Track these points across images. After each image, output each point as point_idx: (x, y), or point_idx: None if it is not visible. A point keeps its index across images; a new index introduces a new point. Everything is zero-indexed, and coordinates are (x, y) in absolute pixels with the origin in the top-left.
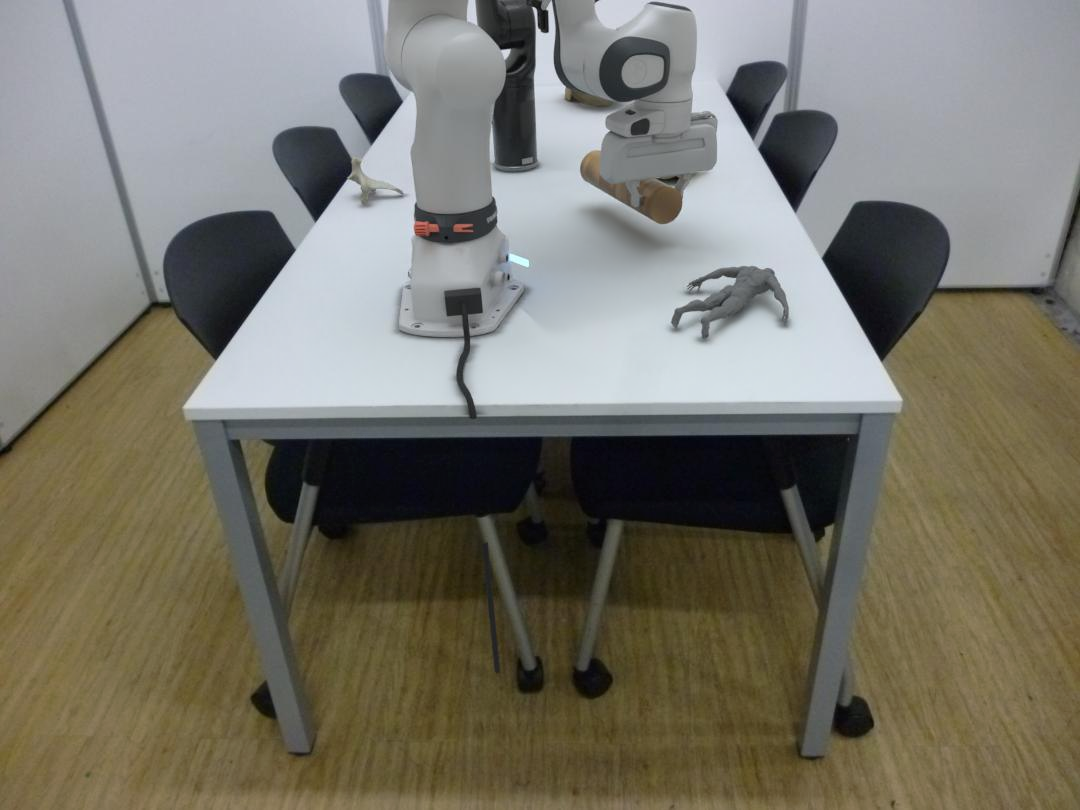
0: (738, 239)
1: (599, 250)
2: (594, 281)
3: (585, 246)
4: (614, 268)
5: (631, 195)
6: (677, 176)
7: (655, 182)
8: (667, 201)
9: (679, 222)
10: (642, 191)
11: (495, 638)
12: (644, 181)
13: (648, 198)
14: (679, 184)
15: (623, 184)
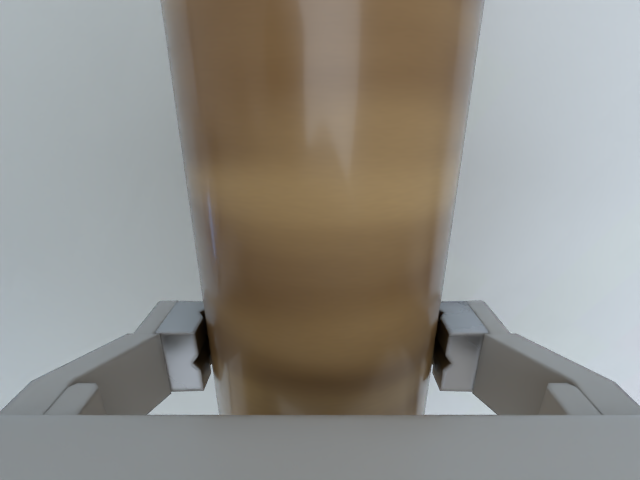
0: (583, 323)
1: (124, 179)
2: (52, 362)
3: (84, 116)
4: (128, 321)
5: (138, 329)
6: (544, 395)
7: (305, 403)
8: None
9: (558, 70)
10: (214, 347)
11: None
12: (257, 310)
13: (219, 408)
14: (507, 382)
15: (170, 66)
